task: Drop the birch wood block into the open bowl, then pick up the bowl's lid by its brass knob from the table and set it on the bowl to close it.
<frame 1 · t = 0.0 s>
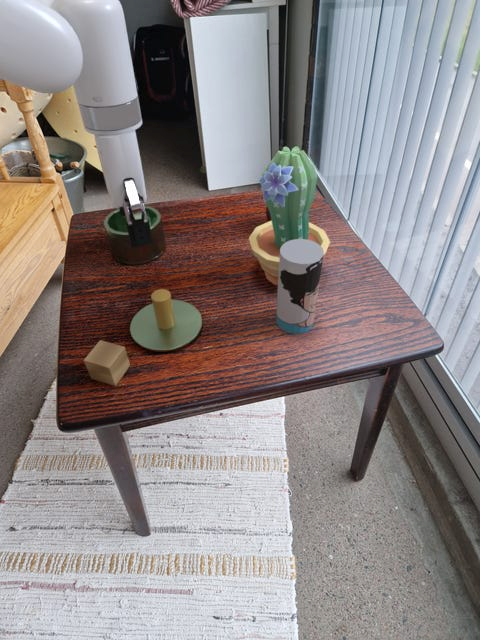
hand: (136, 228, 66), 17 cm above the table, tool pointing down, fingers open, 9 cm apart
lid: (166, 325, 74), point 1 cm above the table
bowl: (139, 249, 92), on the table
white printed cylinder: (294, 321, 76), on the table
potted cactus: (286, 273, 86), on the table
block: (111, 371, 68), on the table
fruit: (285, 227, 98), on the table
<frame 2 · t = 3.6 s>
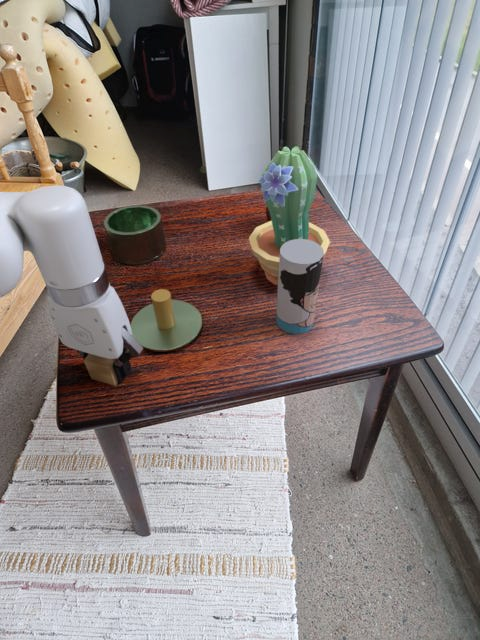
hand: (110, 370, 67), 0 cm above the table, tool pointing down, fingers closed on block, 4 cm apart
block: (111, 371, 68), on the table, touching gripper
everything else where it was.
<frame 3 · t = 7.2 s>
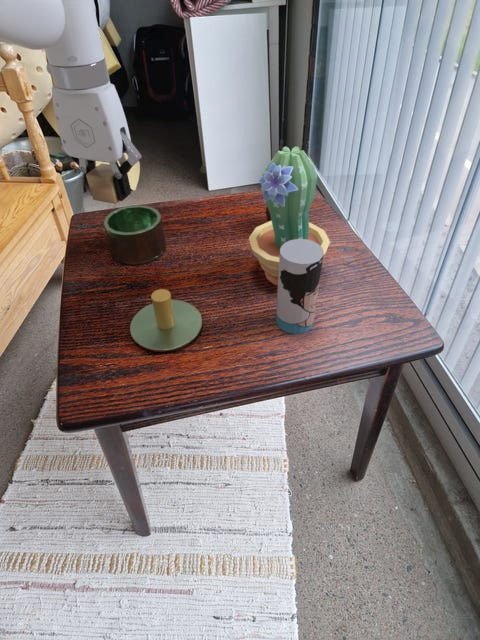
hand: (111, 193, 72), 19 cm above the table, tool pointing down, fingers closed on block, 4 cm apart
block: (111, 195, 72), point 18 cm above the table, touching gripper
everything else where it was.
when the fingers open (7 cm above the table, at t = 10.9 s): block drops 6 cm, resting on bowl.
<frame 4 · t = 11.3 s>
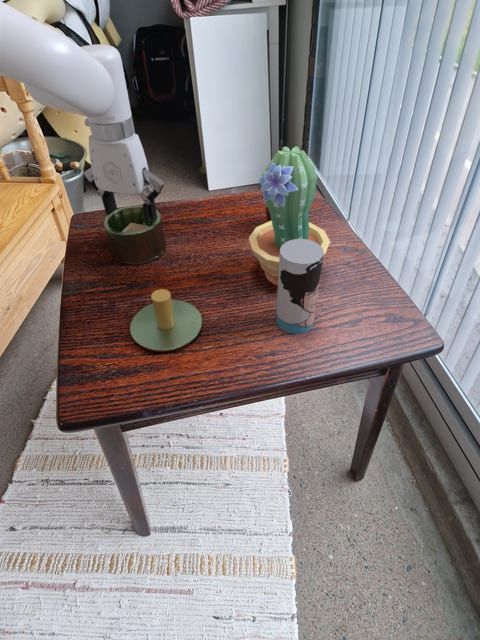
hand: (131, 215, 87), 8 cm above the table, tool pointing down, fingers open, 8 cm apart
block: (138, 247, 92), resting on bowl
everything else where it was.
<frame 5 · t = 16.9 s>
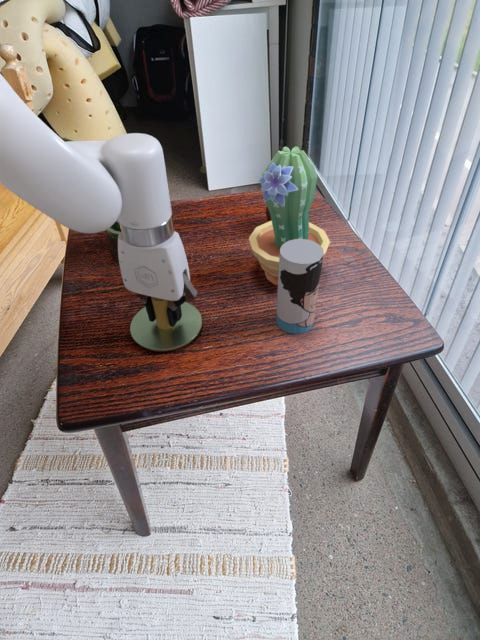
hand: (165, 318, 73), 2 cm above the table, tool pointing down, fingers closed on lid, 3 cm apart
lid: (166, 325, 74), point 1 cm above the table, touching gripper
everything else where it was.
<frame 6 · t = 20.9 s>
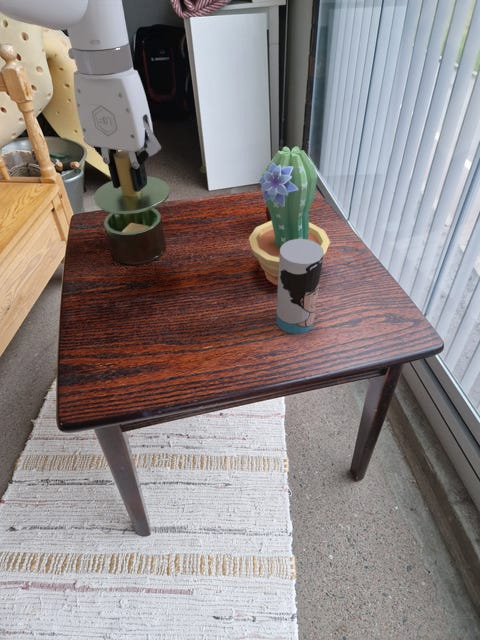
hand: (130, 185, 70), 20 cm above the table, tool pointing down, fingers closed on lid, 3 cm apart
lid: (132, 195, 71), point 19 cm above the table, touching gripper
everything else where it was.
when the fingers open (9 cm above the table, at t = 25.0 s): lid stays where it is, resting on bowl.
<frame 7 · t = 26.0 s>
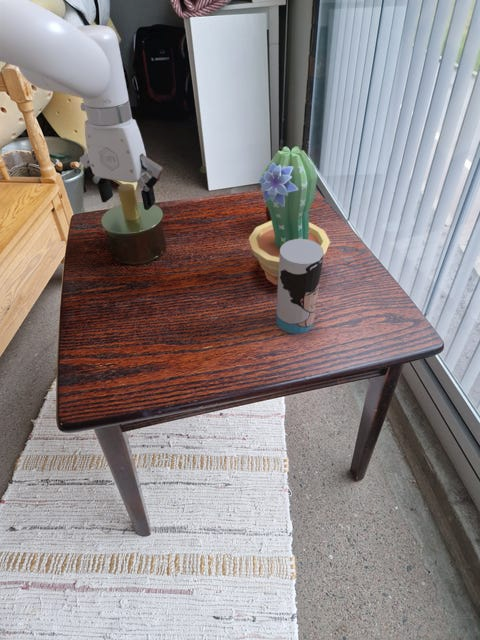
hand: (128, 203, 85), 11 cm above the table, tool pointing down, fingers open, 9 cm apart
lid: (132, 218, 87), point 7 cm above the table, touching bowl
everything else where it was.
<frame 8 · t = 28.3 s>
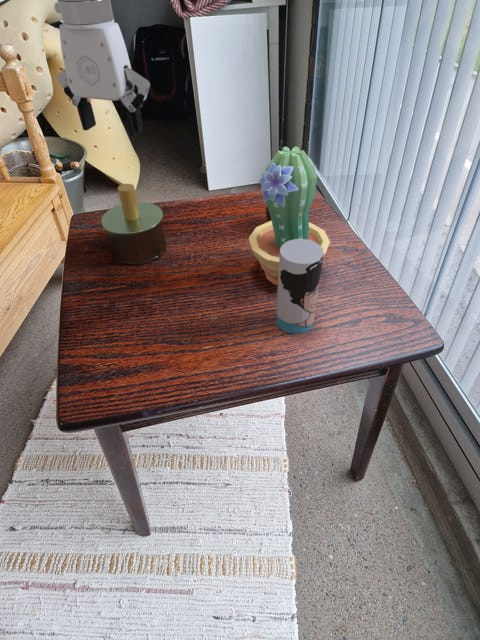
hand: (113, 130, 75), 25 cm above the table, tool pointing down, fingers open, 9 cm apart
nothing on the table moved.
at the end: block inside the target area in the bowl (0.0 cm from its centre), point 0.5 cm above the bowl's base; lid 0.1 cm off-centre on the bowl, point 7.5 cm above the bowl's base; lid tilted 0° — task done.
